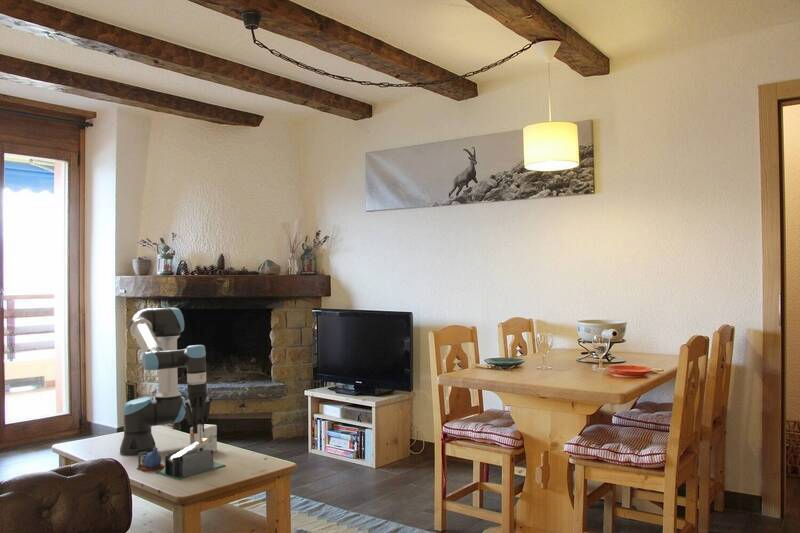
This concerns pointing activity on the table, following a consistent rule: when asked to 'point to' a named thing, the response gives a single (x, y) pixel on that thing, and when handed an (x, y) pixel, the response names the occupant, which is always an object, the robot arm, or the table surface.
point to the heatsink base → (189, 464)
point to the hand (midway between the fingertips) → (198, 440)
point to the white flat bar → (188, 449)
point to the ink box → (208, 433)
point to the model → (150, 461)
